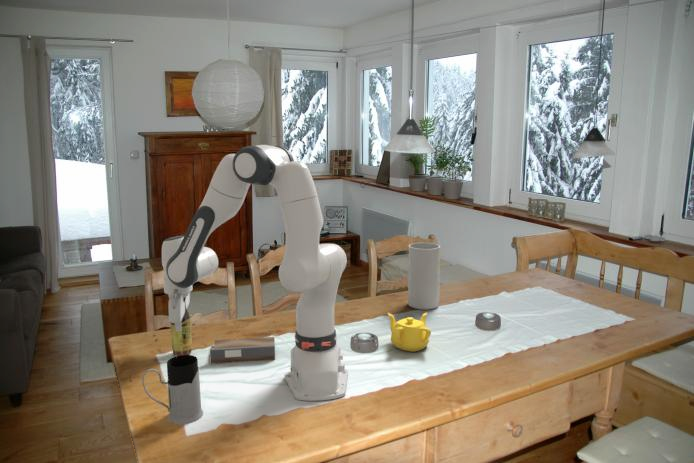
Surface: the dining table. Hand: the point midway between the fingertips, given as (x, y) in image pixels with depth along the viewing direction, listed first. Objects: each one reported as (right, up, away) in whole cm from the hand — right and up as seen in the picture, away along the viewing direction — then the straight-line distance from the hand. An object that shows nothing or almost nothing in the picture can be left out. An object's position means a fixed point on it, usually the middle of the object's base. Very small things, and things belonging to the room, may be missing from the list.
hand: (180, 326), depth 183 cm
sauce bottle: (0, -9, +2) cm, 9 cm away
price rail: (+21, -9, -5) cm, 23 cm away
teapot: (+75, -8, +7) cm, 76 cm away
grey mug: (+10, -17, -39) cm, 43 cm away
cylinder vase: (+85, 0, +48) cm, 98 cm away
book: (+20, -9, +2) cm, 22 cm away
